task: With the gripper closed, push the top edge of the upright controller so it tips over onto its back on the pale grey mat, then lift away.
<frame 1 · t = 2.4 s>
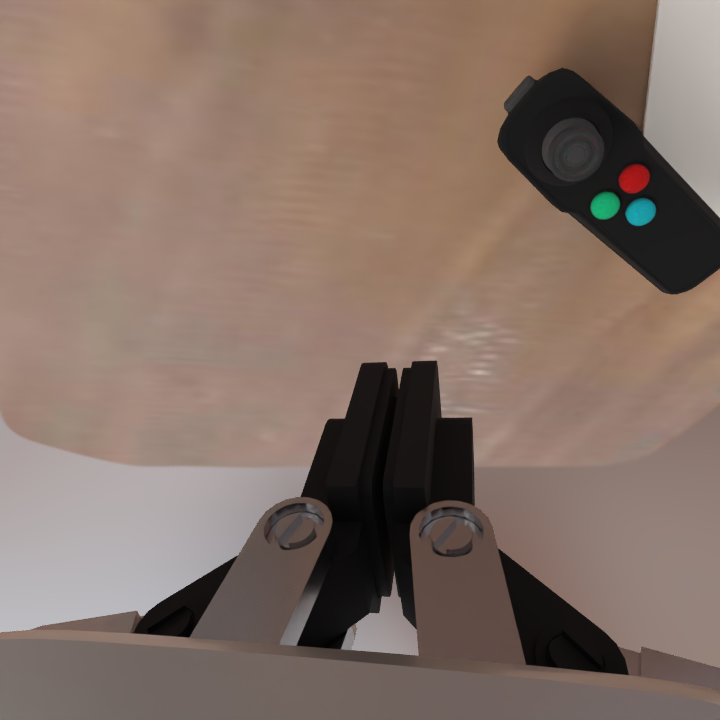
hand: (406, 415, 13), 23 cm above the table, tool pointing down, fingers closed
controller: (589, 155, 31), on the table
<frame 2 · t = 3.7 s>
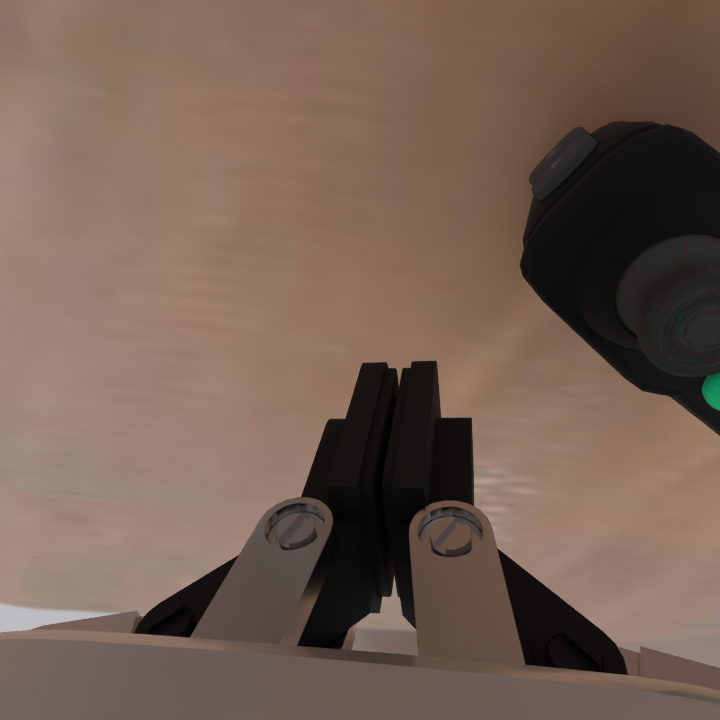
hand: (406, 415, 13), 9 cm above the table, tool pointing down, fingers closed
controller: (661, 240, 19), on the table
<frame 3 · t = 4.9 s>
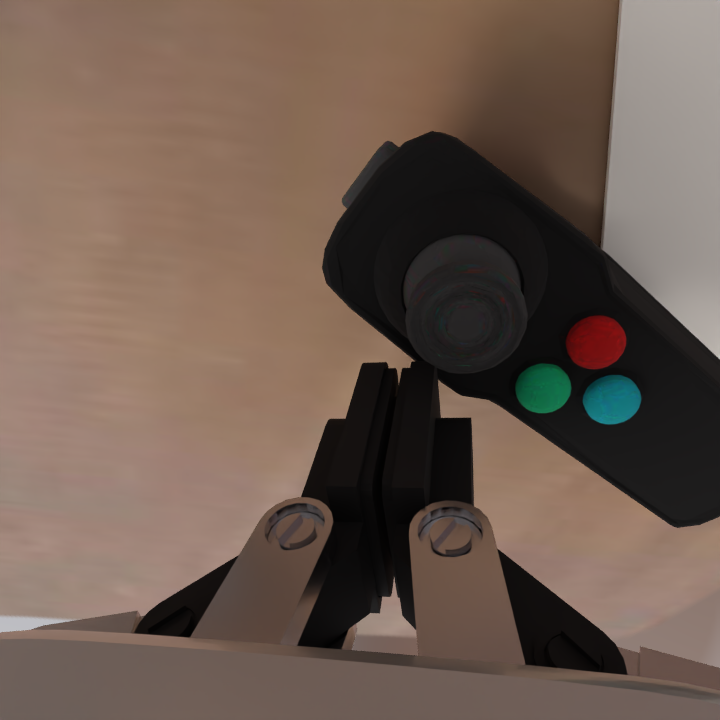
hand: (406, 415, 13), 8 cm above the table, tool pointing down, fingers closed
controller: (521, 255, 19), on the table, touching gripper
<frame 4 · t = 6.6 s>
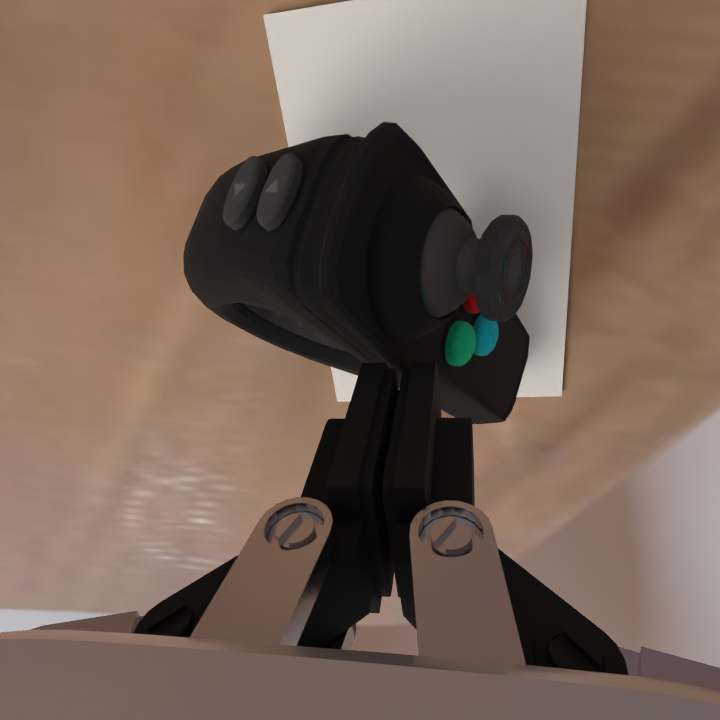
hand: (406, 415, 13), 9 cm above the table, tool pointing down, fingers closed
controller: (254, 288, 19), point 2 cm above the table, touching gripper, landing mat
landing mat: (434, 230, 19), on the table
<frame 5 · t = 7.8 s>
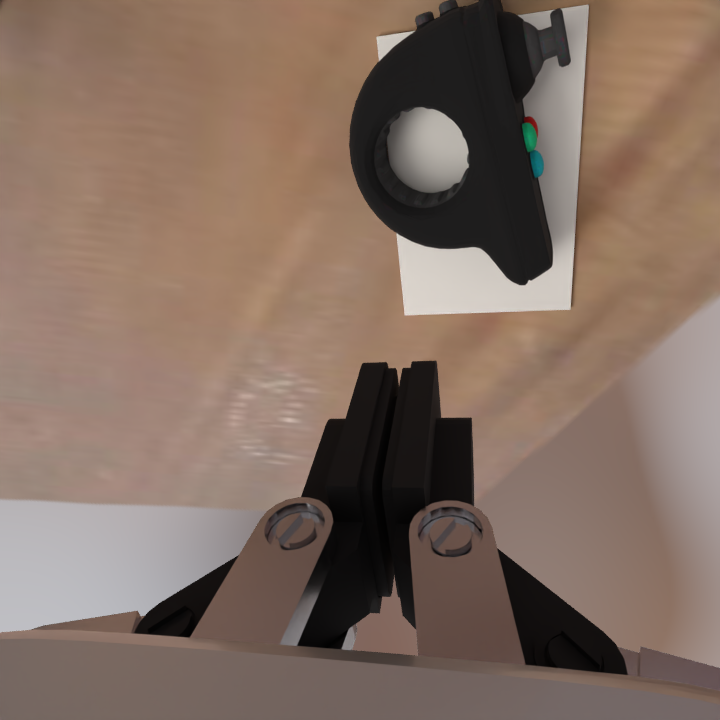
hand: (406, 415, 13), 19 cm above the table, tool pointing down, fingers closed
controller: (363, 193, 28), point 2 cm above the table, touching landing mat
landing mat: (481, 183, 28), on the table
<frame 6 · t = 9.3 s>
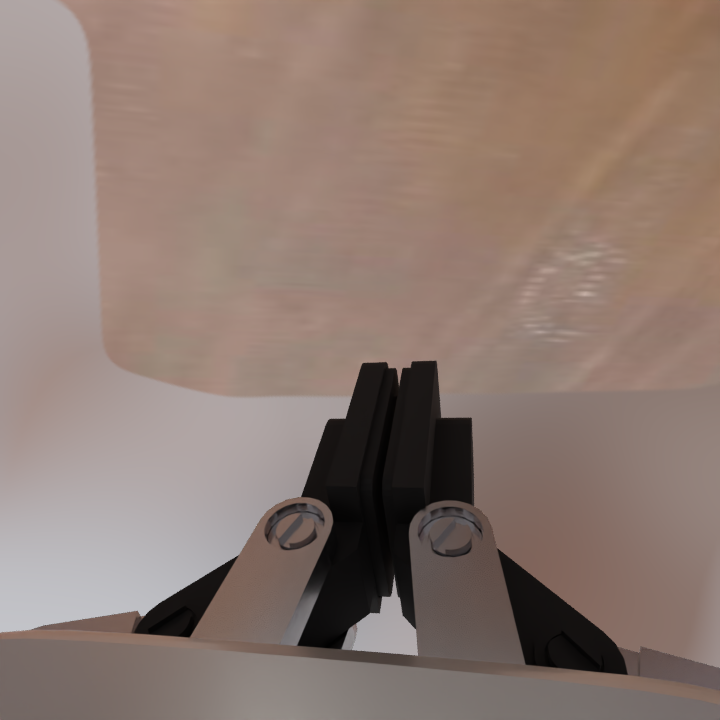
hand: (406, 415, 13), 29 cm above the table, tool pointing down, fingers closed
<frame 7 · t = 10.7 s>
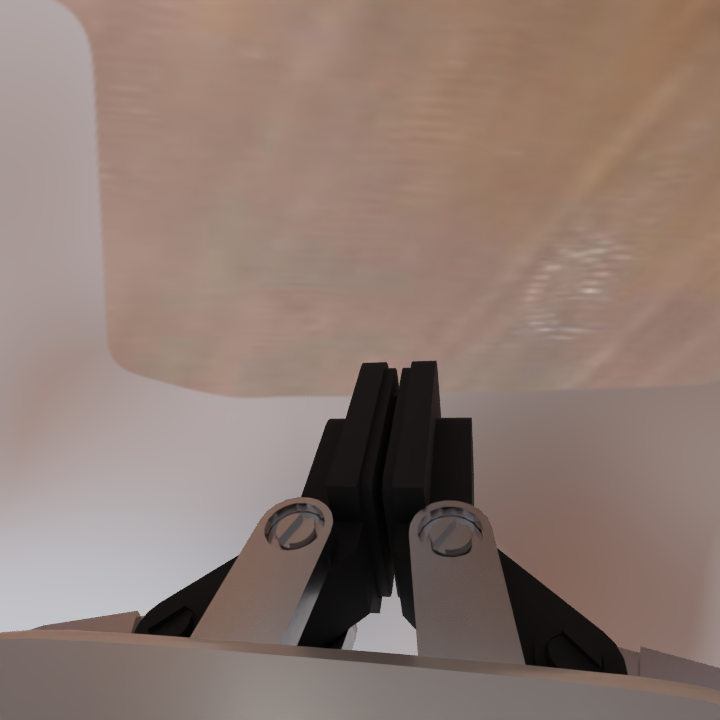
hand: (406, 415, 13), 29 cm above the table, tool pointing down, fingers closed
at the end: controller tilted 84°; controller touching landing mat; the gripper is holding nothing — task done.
